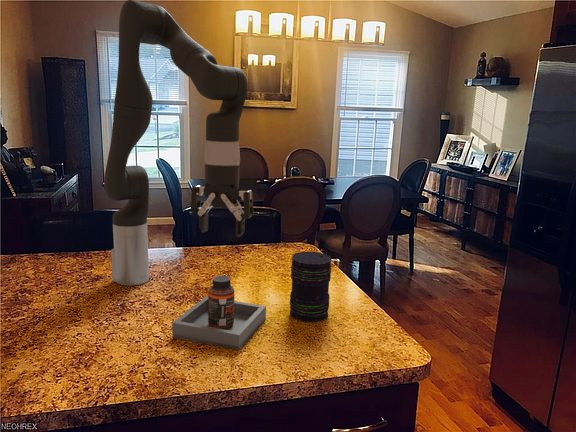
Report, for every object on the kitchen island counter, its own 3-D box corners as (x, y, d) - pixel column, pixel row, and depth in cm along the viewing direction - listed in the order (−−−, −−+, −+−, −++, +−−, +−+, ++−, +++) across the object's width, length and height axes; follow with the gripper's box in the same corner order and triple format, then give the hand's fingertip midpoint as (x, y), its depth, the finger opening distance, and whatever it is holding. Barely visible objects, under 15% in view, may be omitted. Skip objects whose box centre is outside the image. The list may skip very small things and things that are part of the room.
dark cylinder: (301, 325, 111) (303, 265, 108) (282, 309, 119) (284, 254, 116) (336, 318, 116) (339, 261, 112) (315, 303, 124) (318, 249, 121)
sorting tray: (172, 337, 103) (172, 322, 103) (206, 309, 118) (206, 296, 117) (239, 350, 99) (239, 335, 98) (265, 319, 114) (265, 306, 113)
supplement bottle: (229, 331, 105) (229, 284, 102) (204, 328, 106) (204, 281, 103) (237, 320, 111) (237, 275, 108) (213, 317, 112) (213, 272, 109)
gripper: (184, 161, 100) (185, 234, 104) (245, 166, 96) (244, 242, 100) (201, 157, 107) (201, 226, 111) (259, 162, 103) (257, 233, 107)
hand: (221, 233), depth 105 cm, fingers open, 8 cm apart
